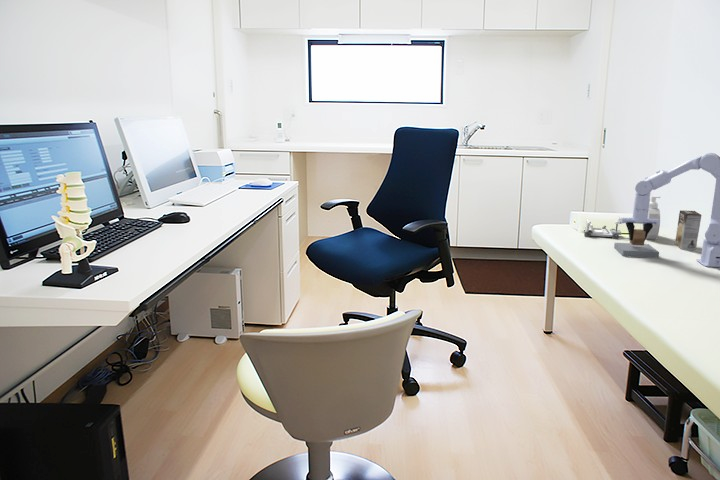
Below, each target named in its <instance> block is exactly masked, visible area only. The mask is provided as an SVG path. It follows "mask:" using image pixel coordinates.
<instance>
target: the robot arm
mask: <svg viewBox="0 0 720 480" xmlns="http://www.w3.org/2000/svg"><path fill="white" fill-rule="evenodd" d="M700 169H702V170H703V171H705V172H707V173H709V174H711V175H712V176H713V177H714V178H715V184H714V185H715V186H714V194H713V198H712V199H713V200H712V207H711V215H710V219H709V225H708V227H707V230H706V231H705V233H704V237H705V238H704V239H703V242H702V246H701V247H702V250H701V255H700V258H699V259H698V258H697V259H696V261H697V262H698V263H700V264H702V265H703V266H704V267H709V268H711V267H713V268H714V267H715V268H720V156H719V155H718V154H716V153H713V152H709V153H706V154H704V155H701V156H698V157H695V158H692V159H689V160H687V161H686V162H683V163H682V164H680V165H679V166H676V167H674V168H672V169H670V170H669V171H667V170H658V171H656V172H655V174H653V175H651V176H649V177H648V176H647V177H644V179H643V180H641V181H639V182H637V184H636V185H635V187H634V188H635V189H634V190H635V197H634V203H633V204H634V205H633V211H632V217H620V219H621V223H622V224H625V225H626V229H627V231H628V238H629V239H628V240H629V241H630V240H632V239H633V231H634V229H635V228H636V227H635V226H636V225H634V224H640V225H641V224H643V230H644V231H645V232H646V234H645V241H647V240H646V237H647V235H648V233H649V231H650V230H651V229H652V227H653V225H652V224H656V225H658V224H659V220H658V219H648V211H649V203H650V202H651V192H652V191H655V190H657V189H660V188H662V187H664V186H666V185H668V184H670V183H671V182H672V181H671V180H672V179H673V178H675V177H677V176H679V175H682V174H684V173H687V172H689V171H690V170H697V171H698V170H700Z"/></svg>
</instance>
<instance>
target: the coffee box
mask: <svg viewBox="0 0 720 480" xmlns="http://www.w3.org/2000/svg"><path fill="white" fill-rule="evenodd" d="M701 221H702V214H700V213H699V212H697V211H695V210H679V213H678V221H677V228H676V235H675V239H674V240H675V242H674V245H675V246H676V247H678V249H681V250H685V251H686V250H687V251H690V250H691V251H696V250H697V247H698V246H697V244H698V238H699V232H700V228H701V227H700V226H701Z"/></svg>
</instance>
